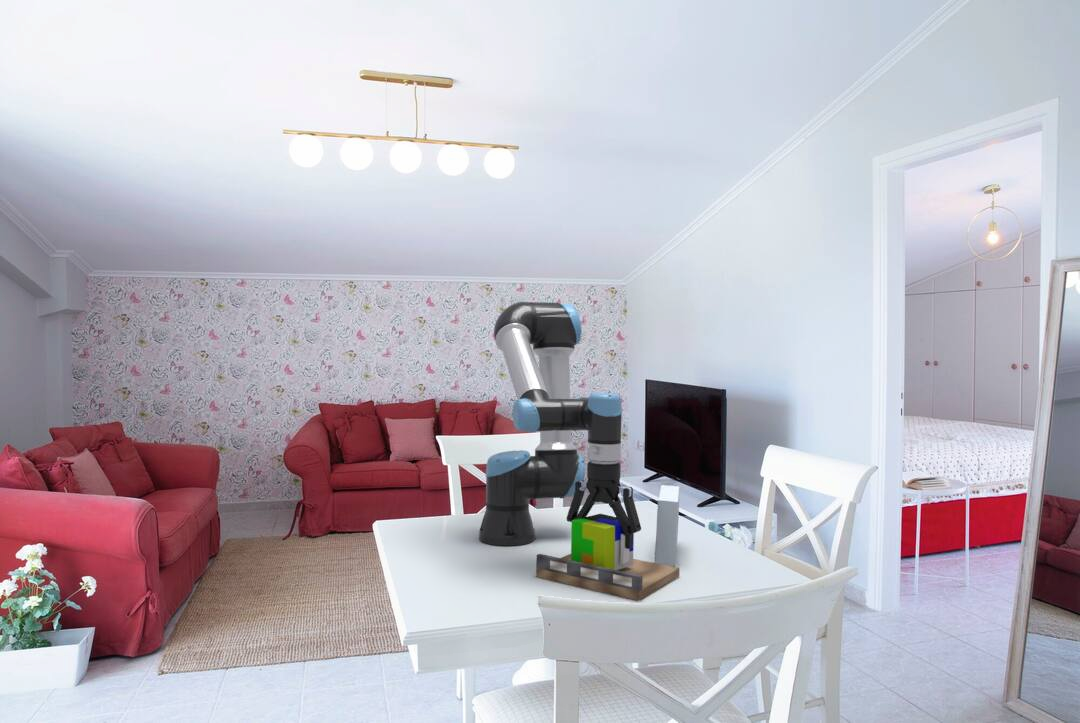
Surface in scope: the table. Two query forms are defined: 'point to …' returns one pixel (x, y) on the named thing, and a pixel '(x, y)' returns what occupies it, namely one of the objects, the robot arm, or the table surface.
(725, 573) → the table surface
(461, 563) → the table surface
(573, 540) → the puzzle toy
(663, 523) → the skincare box
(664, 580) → the brown piece
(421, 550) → the table surface
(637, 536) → the table surface
